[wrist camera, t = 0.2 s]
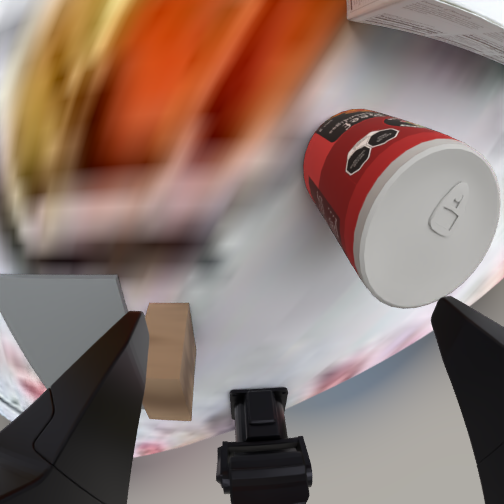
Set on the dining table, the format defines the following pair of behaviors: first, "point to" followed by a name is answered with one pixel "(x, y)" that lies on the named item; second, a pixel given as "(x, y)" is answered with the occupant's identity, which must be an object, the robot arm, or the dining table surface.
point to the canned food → (402, 203)
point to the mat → (59, 316)
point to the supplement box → (440, 21)
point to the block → (169, 362)
